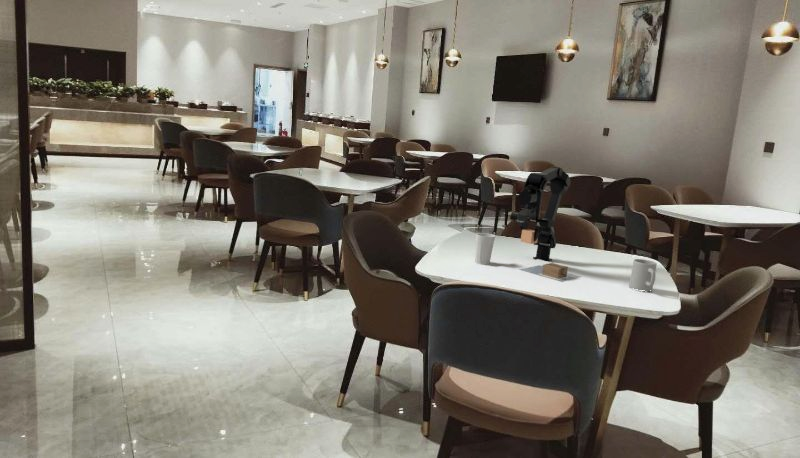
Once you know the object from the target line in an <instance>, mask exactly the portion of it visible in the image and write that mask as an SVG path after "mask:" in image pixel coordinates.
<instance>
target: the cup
mask: <svg viewBox="0 0 800 458" xmlns="http://www.w3.org/2000/svg"><path fill="white" fill-rule="evenodd" d="M495 238H496V235H495V234H491V233H488V232H487V233H486V232H477V233H476V234H475V257H474V263H476V264H477V265H484V266H488V265H490V264H491V257H492V252H493V249H494V243H495V241H496V240H495Z"/></svg>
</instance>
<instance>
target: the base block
mask: <svg viewBox="0 0 800 458" xmlns="http://www.w3.org/2000/svg"><path fill="white" fill-rule="evenodd" d="M542 266H543V271H542V275H546V276H549V277H553V278H556V279H559V278H563V277H567V273H568V271H569V269H568V268H569V266H565V265H562V264H557V263H555V262H551V263H549V262H548V263H546V264H542Z"/></svg>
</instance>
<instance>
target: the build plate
mask: <svg viewBox="0 0 800 458" xmlns="http://www.w3.org/2000/svg"><path fill="white" fill-rule="evenodd" d="M518 270H519V271H522V272H524V273H525V272H526V273H529V274H533V275H537V276H539V277H543V278H547V279H551V280H554V281H557V282H561V283H564V282H568V281H572V280H576V279H579V278H582V276H580V275H577V274H573V273H570V272H567V277H563V278H559V279H556V278H553V277H549V276H546V275H542V271H543V265H540V264H539V265H533V266H530V267H525V268H520V269H518Z"/></svg>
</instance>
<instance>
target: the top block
mask: <svg viewBox="0 0 800 458" xmlns="http://www.w3.org/2000/svg"><path fill="white" fill-rule="evenodd" d="M534 233H535V229H534V230H533V229H530V228H527V229H525V230H522V232H521V235H520V242H521V243H525V244H530V245H534V243H537V240H538V238H537V240H536V241H534Z"/></svg>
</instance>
